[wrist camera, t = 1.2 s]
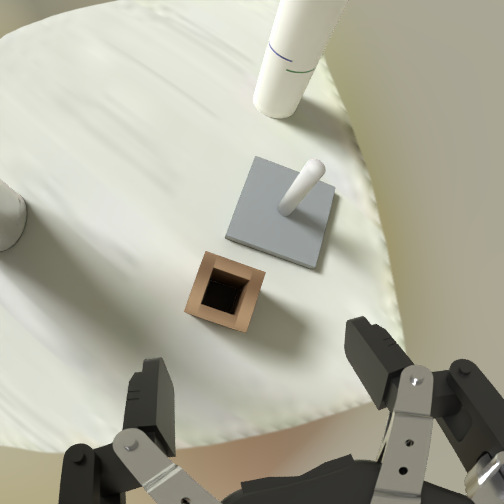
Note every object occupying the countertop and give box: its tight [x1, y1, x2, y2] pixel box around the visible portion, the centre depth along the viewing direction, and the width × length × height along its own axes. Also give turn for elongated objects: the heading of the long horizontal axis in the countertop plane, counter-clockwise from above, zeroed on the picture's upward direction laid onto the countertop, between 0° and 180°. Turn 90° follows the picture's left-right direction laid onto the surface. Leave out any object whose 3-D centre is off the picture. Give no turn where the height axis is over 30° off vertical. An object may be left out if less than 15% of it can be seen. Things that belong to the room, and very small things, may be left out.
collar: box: [184, 251, 266, 333], centre depth 34 cm, size 6×6×10 cm
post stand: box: [225, 156, 335, 269], centre depth 36 cm, size 12×12×14 cm
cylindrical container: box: [253, 0, 348, 118], centre depth 34 cm, size 7×7×25 cm
